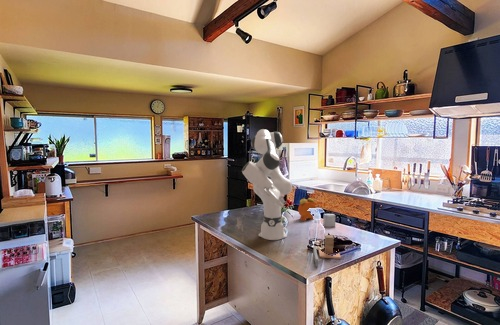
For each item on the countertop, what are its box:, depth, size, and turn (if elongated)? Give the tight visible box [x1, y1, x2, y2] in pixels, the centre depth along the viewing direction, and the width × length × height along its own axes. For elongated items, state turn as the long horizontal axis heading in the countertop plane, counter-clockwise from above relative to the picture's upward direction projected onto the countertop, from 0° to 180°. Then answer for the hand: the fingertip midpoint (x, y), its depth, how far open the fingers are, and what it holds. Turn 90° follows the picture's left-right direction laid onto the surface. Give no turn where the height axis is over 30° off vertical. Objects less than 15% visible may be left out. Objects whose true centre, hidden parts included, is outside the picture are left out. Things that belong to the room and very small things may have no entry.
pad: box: [318, 250, 342, 260], centre depth 158 cm, size 12×11×1 cm
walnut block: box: [324, 234, 335, 253], centre depth 157 cm, size 4×4×9 cm
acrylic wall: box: [313, 245, 319, 268], centre depth 150 cm, size 18×1×4 cm, turn 170°
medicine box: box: [322, 213, 336, 228], centre depth 208 cm, size 8×4×9 cm, turn 92°
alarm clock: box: [297, 197, 316, 222], centre depth 226 cm, size 13×6×20 cm, turn 115°
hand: (283, 204), depth 150 cm, fingers open, 8 cm apart
